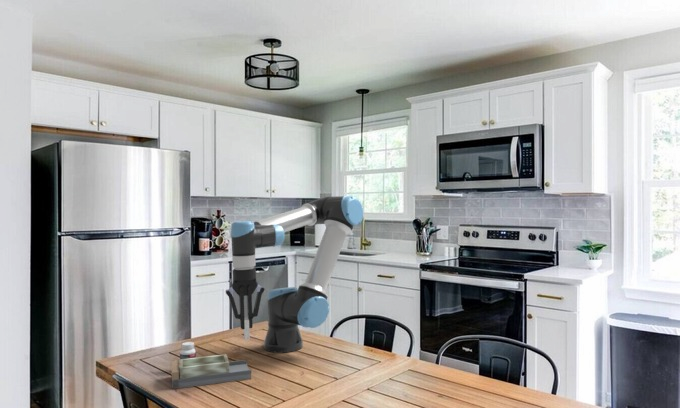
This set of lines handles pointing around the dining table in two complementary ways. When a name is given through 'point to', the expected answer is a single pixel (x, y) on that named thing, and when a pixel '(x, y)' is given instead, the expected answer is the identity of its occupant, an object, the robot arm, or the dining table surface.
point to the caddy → (204, 366)
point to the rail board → (236, 372)
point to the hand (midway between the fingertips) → (246, 338)
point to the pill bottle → (187, 350)
